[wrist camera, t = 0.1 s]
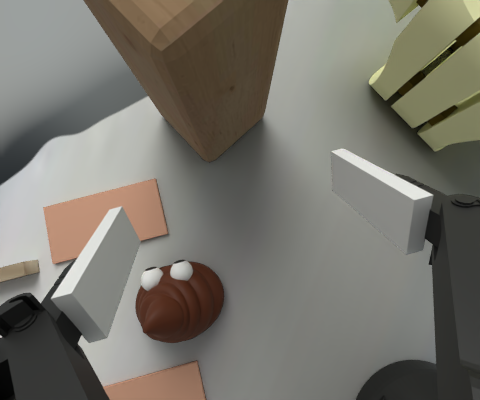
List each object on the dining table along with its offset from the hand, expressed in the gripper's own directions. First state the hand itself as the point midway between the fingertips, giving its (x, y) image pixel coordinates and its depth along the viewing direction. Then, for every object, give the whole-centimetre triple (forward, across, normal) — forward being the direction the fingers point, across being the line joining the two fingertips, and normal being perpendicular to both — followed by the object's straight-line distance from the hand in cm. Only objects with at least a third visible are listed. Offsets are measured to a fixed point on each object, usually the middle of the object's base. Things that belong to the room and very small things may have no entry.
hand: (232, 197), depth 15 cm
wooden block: (+20, 0, -2) cm, 20 cm away
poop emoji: (+8, +9, +15) cm, 19 cm away
